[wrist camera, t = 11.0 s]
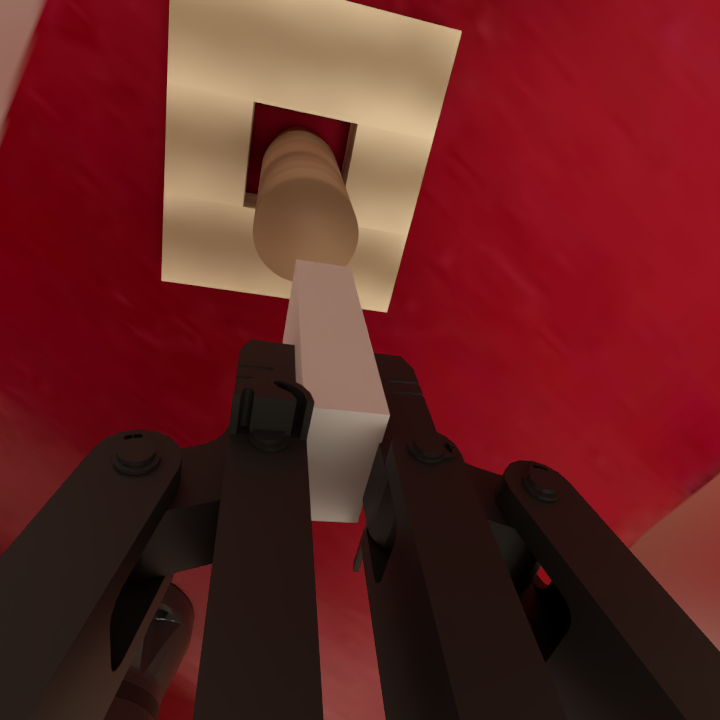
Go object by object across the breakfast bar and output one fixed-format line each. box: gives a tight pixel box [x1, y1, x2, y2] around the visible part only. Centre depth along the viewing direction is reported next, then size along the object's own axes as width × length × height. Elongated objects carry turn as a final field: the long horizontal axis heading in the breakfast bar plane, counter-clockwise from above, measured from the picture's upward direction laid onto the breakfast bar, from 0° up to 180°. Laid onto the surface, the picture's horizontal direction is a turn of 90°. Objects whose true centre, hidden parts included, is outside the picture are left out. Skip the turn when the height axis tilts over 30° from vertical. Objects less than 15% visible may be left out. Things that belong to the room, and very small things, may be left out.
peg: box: [253, 126, 359, 282], centre depth 26 cm, size 4×4×14 cm
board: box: [161, 0, 462, 312], centre depth 31 cm, size 16×14×3 cm
